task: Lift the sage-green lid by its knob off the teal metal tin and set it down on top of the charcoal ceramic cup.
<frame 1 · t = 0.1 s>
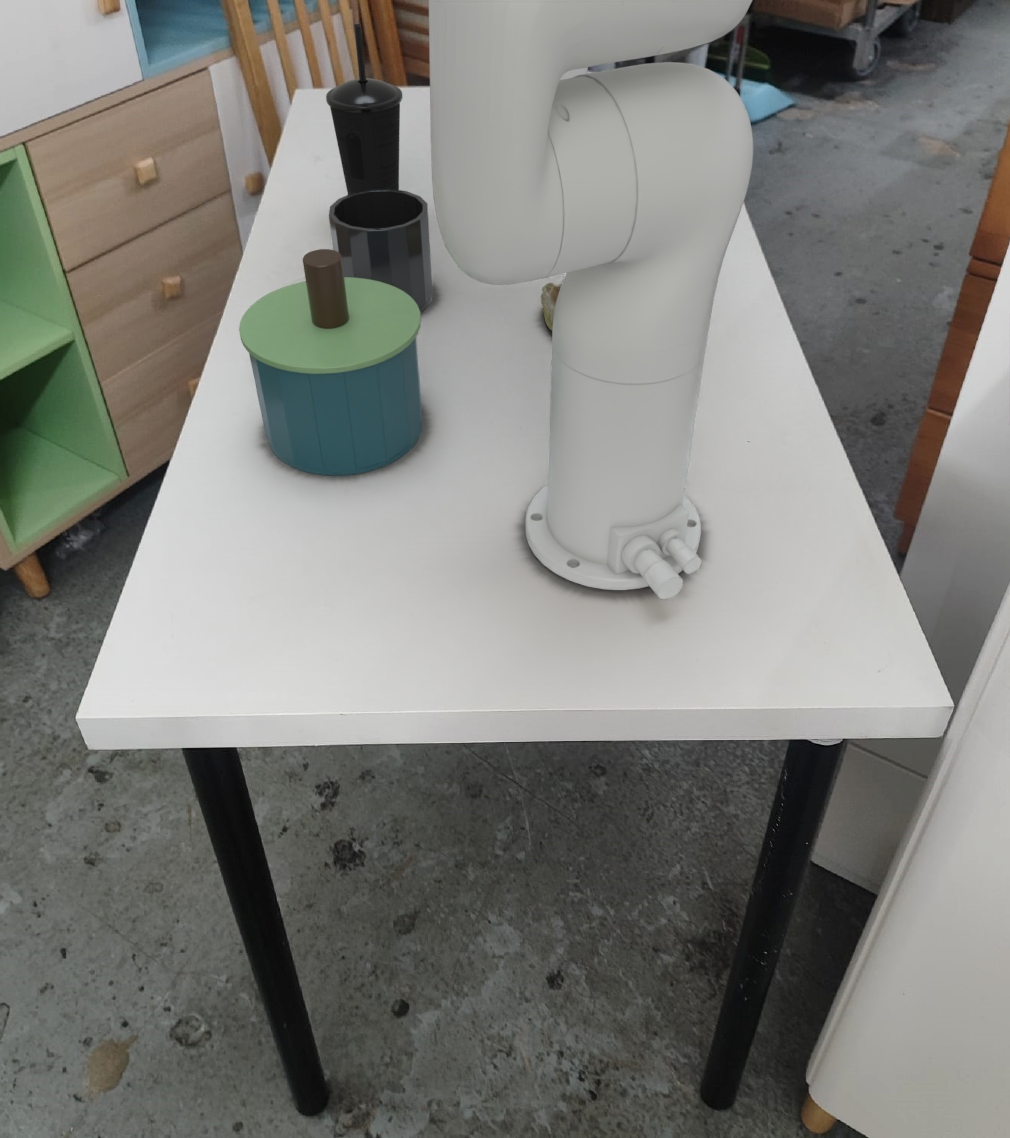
tin: (345, 428, 84), on the table
cylindrical container: (547, 223, 113), on the table
ceramic model: (618, 322, 97), on the table
lid: (331, 325, 78), point 9 cm above the table, touching tin
cup: (386, 298, 100), on the table
drinking cup: (376, 225, 112), on the table
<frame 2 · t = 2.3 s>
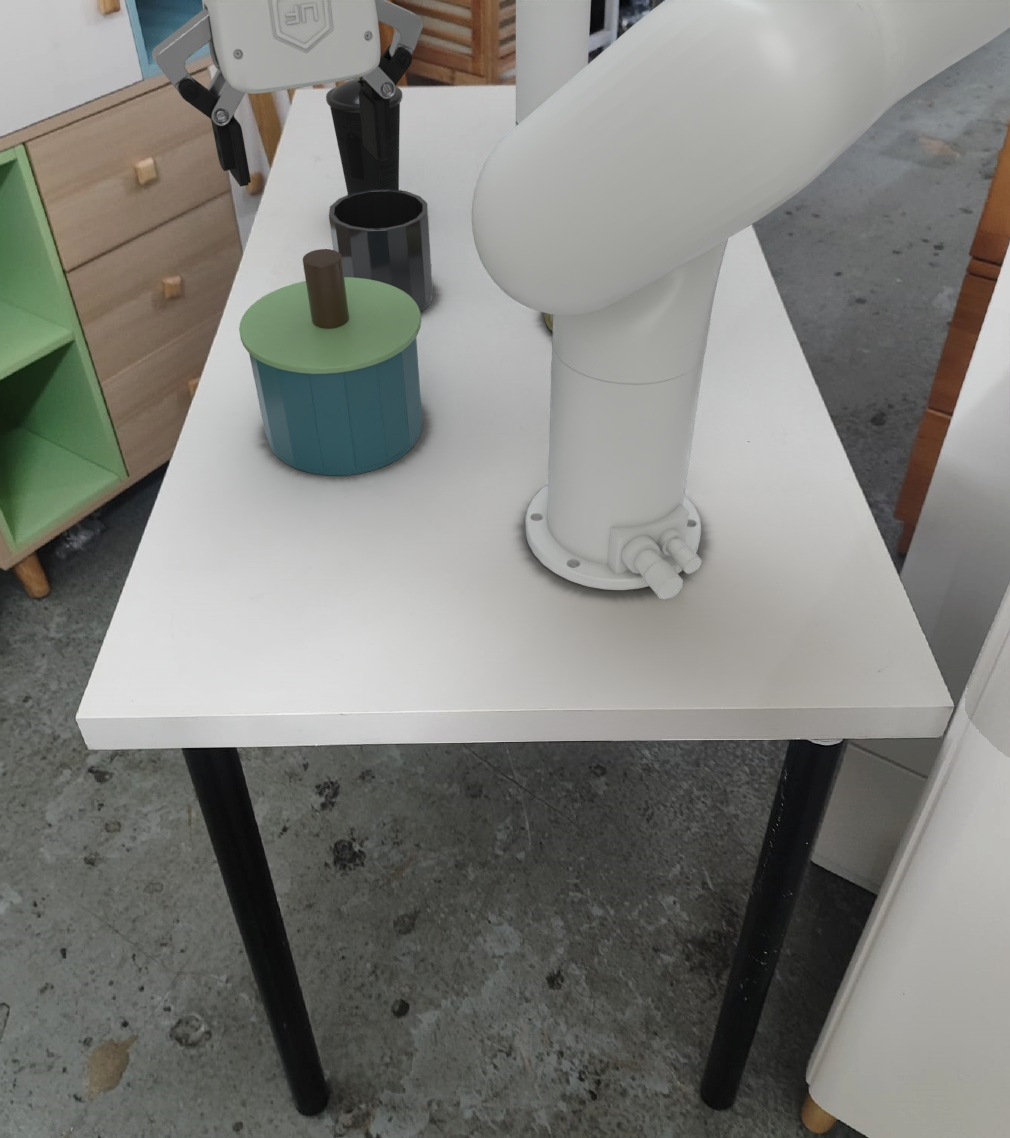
hand: (309, 165, 70), 21 cm above the table, tool pointing down, fingers open, 9 cm apart
nothing on the table moved.
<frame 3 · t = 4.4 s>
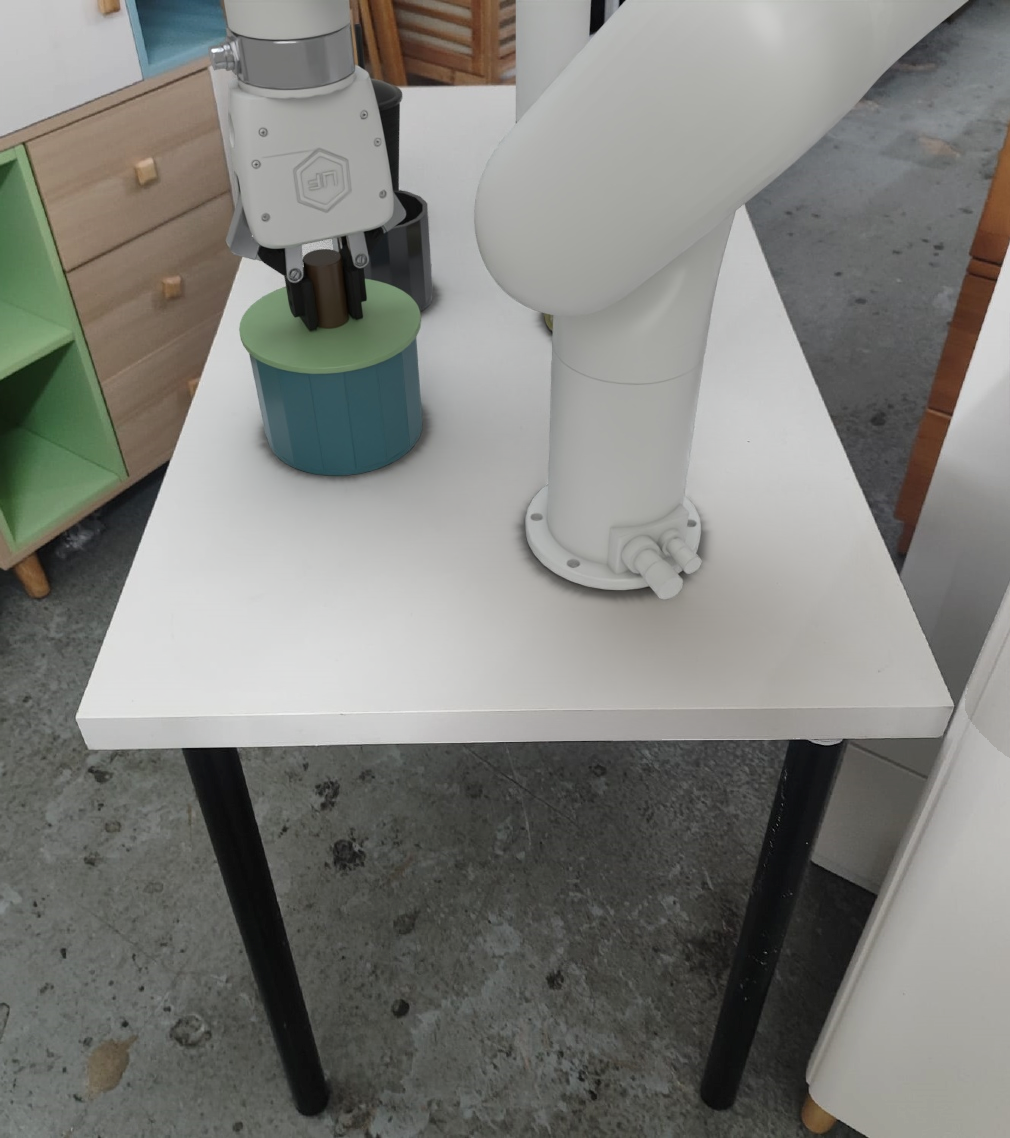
hand: (329, 314, 77), 10 cm above the table, tool pointing down, fingers closed on lid, 2 cm apart
lid: (331, 325, 78), point 10 cm above the table, touching gripper, tin
everything else where it was.
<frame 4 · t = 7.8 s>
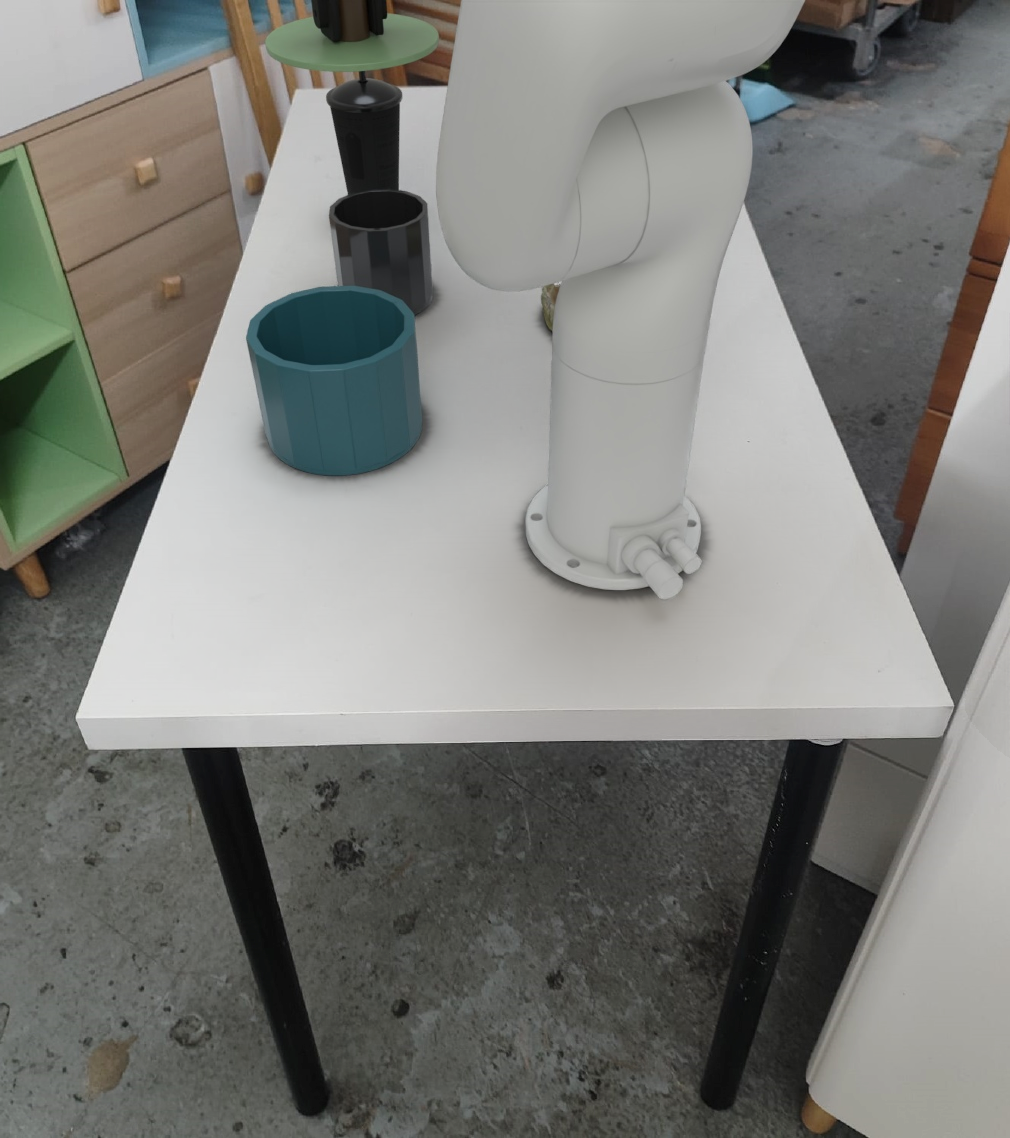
hand: (352, 31, 81), 25 cm above the table, tool pointing down, fingers closed on lid, 2 cm apart
lid: (353, 43, 81), point 24 cm above the table, touching gripper
everything else where it was.
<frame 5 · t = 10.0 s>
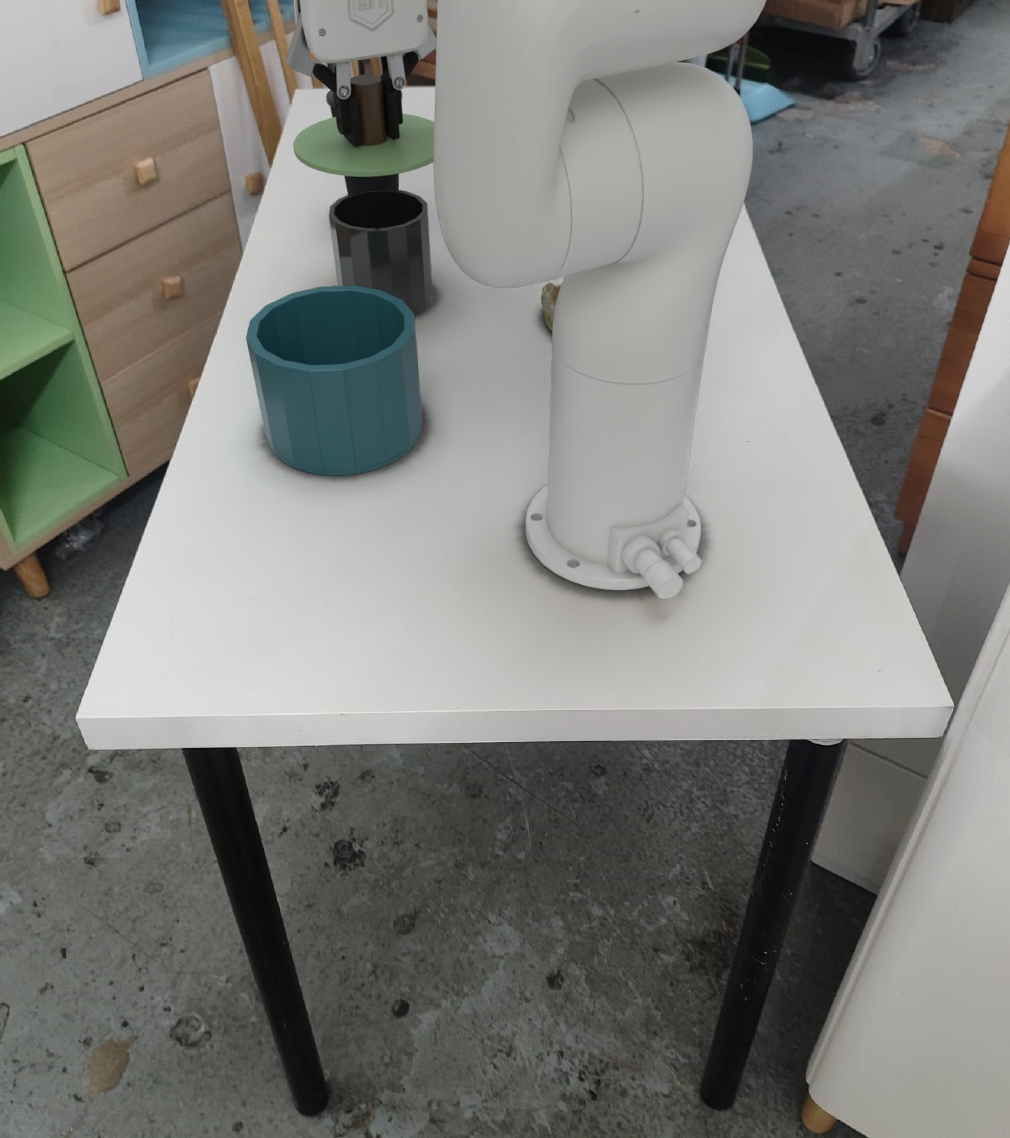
hand: (371, 135, 90), 16 cm above the table, tool pointing down, fingers closed on lid, 2 cm apart
lid: (371, 145, 90), point 15 cm above the table, touching gripper
everything else where it was.
when the fingers open (10 cm above the table, at t = 11.4 s): lid stays where it is, resting on cup.
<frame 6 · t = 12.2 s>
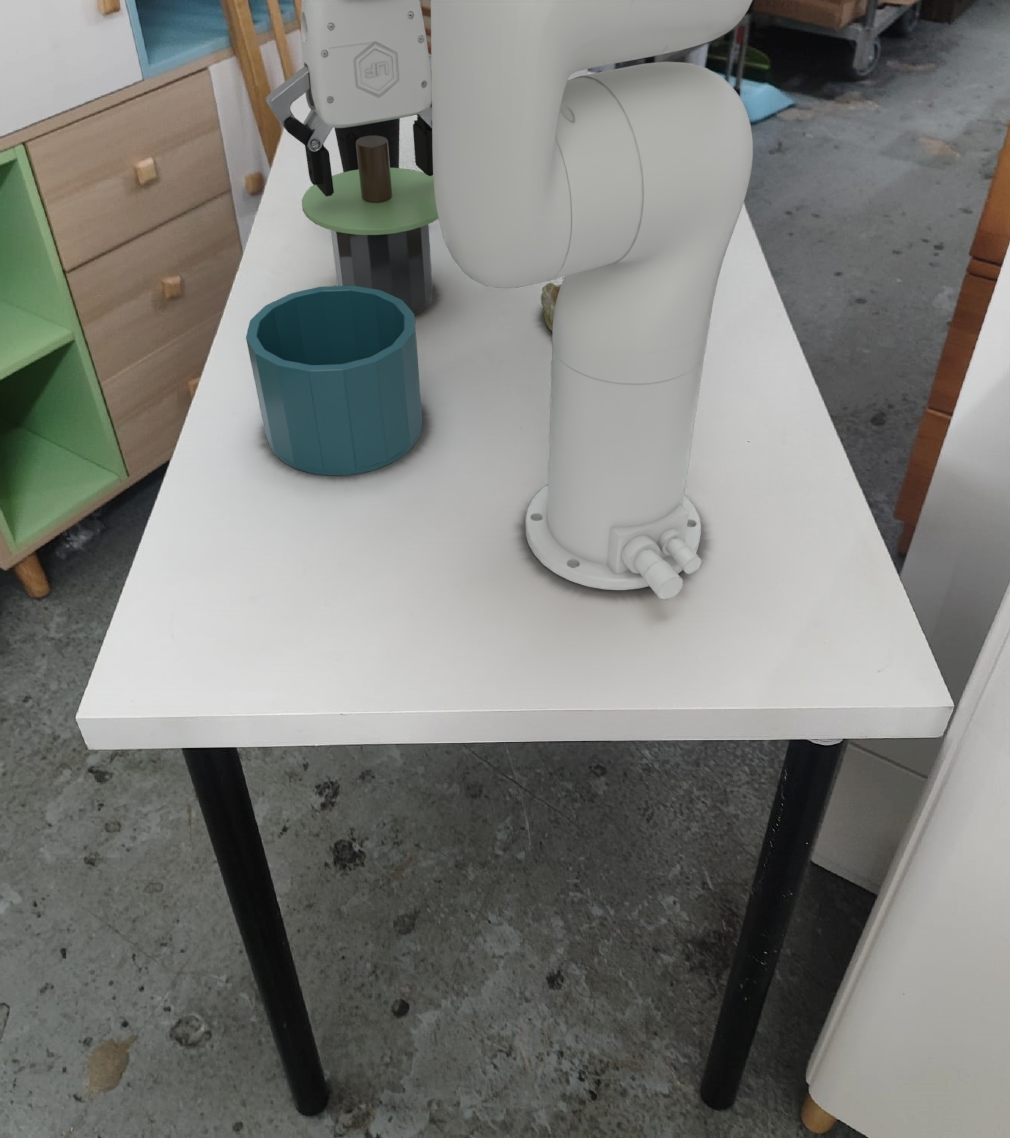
hand: (376, 180, 92), 12 cm above the table, tool pointing down, fingers open, 9 cm apart
lid: (377, 202, 94), point 10 cm above the table, touching cup
everything else where it was.
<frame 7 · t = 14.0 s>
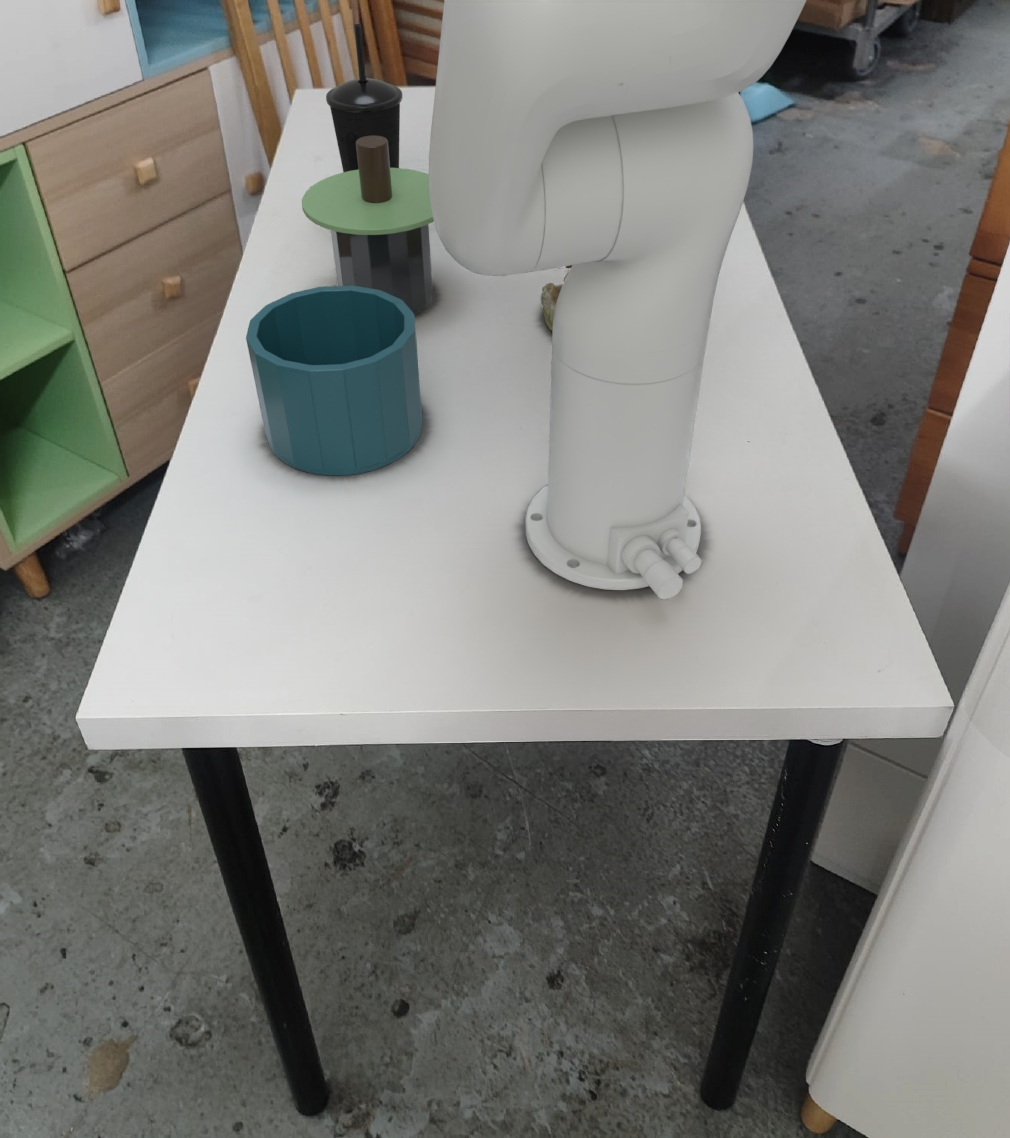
nothing on the table moved.
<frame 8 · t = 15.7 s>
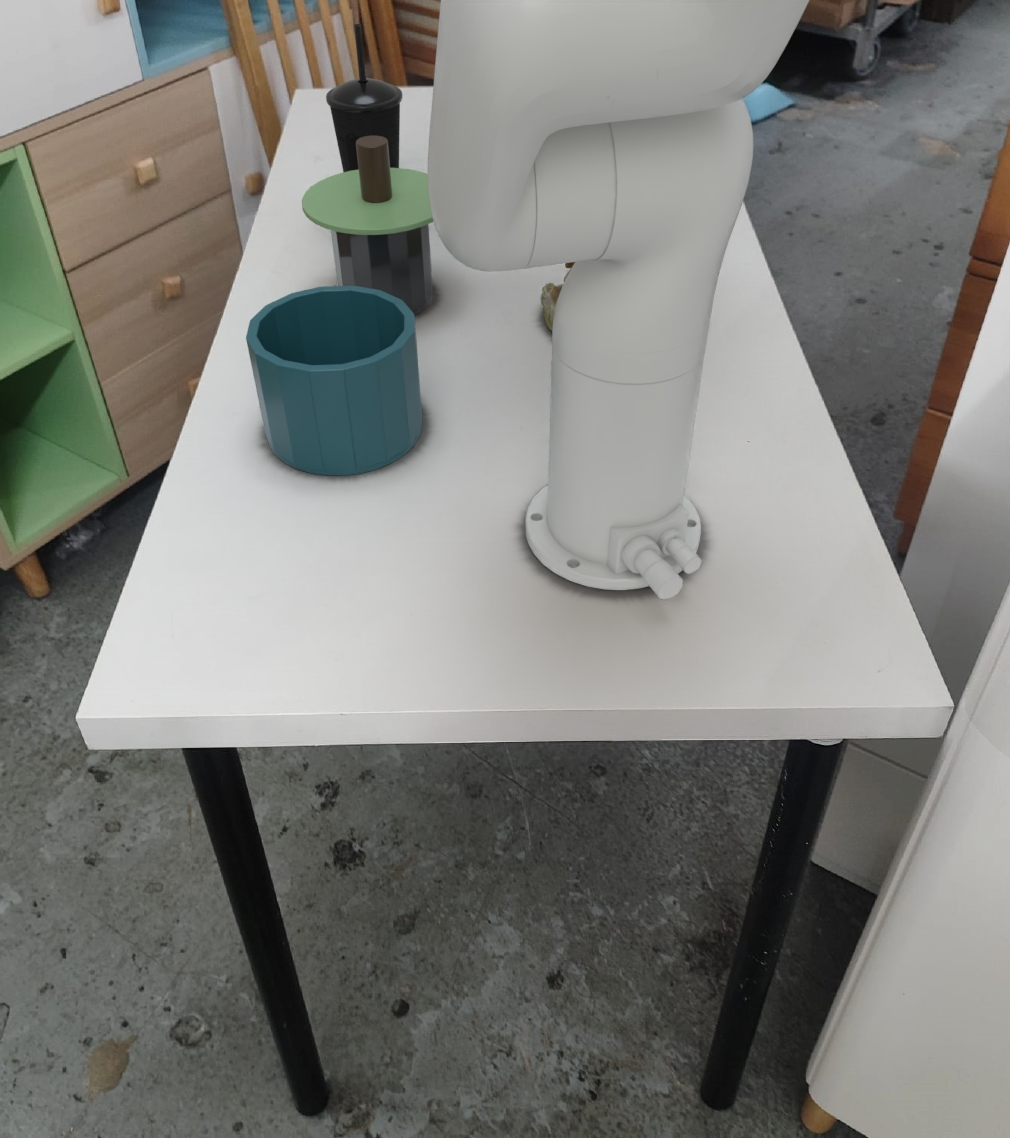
nothing on the table moved.
at the end: lid 0.1 cm off-centre on the cup, point 9.6 cm above the cup's base; lid tilted 0°; the gripper is holding nothing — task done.
